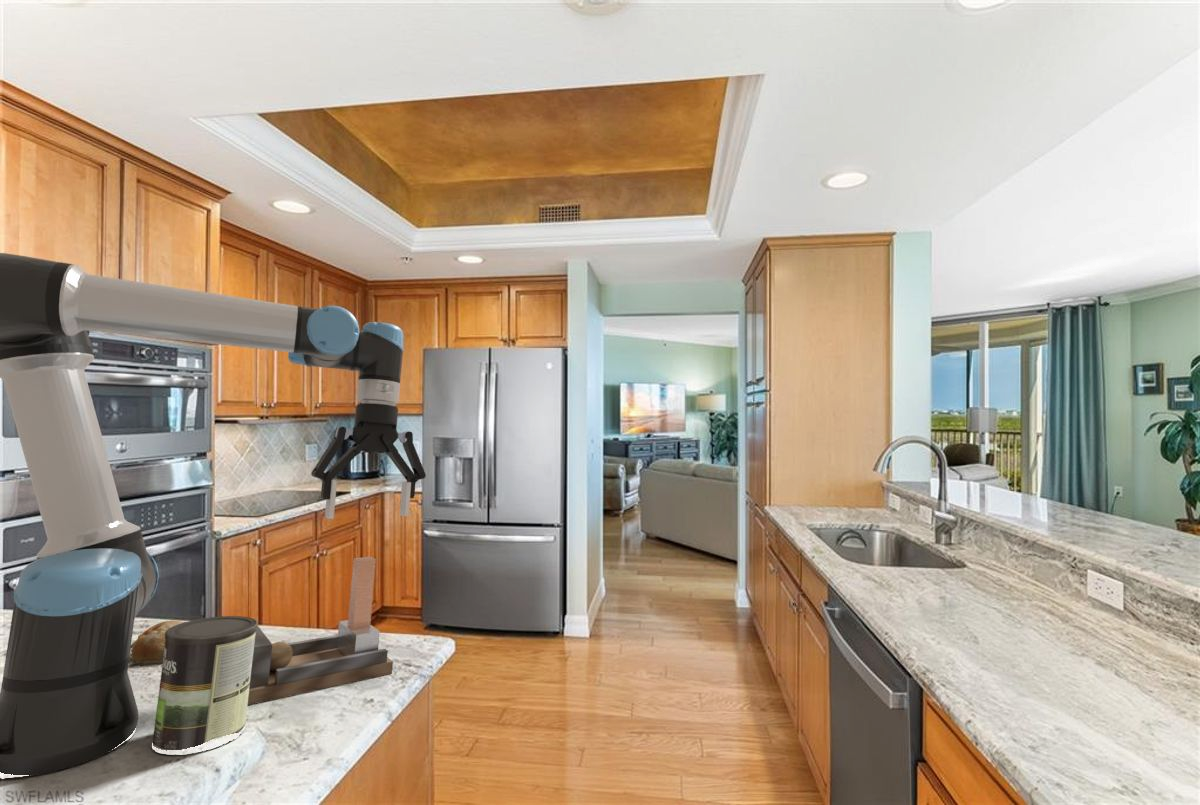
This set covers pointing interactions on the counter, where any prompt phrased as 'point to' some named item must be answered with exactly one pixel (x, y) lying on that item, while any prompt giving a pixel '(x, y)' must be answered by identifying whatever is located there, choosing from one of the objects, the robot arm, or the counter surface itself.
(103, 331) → the robot arm
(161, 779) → the counter surface
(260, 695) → the base
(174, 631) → the coffee can
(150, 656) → the bread roll
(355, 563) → the sliding jaw
